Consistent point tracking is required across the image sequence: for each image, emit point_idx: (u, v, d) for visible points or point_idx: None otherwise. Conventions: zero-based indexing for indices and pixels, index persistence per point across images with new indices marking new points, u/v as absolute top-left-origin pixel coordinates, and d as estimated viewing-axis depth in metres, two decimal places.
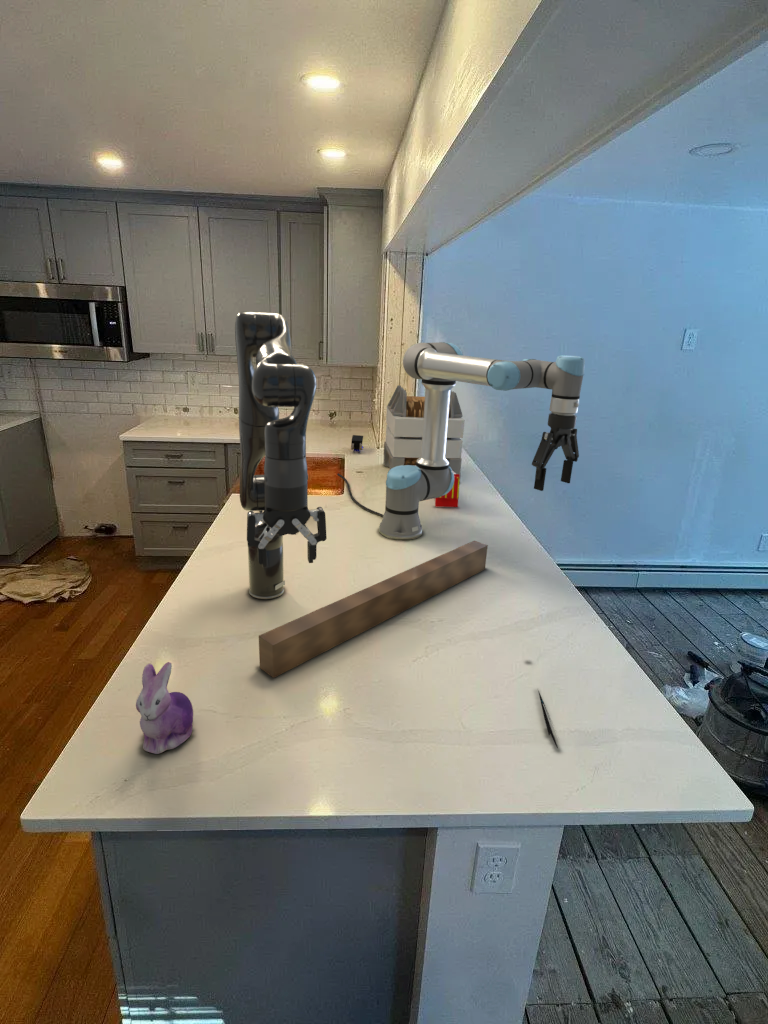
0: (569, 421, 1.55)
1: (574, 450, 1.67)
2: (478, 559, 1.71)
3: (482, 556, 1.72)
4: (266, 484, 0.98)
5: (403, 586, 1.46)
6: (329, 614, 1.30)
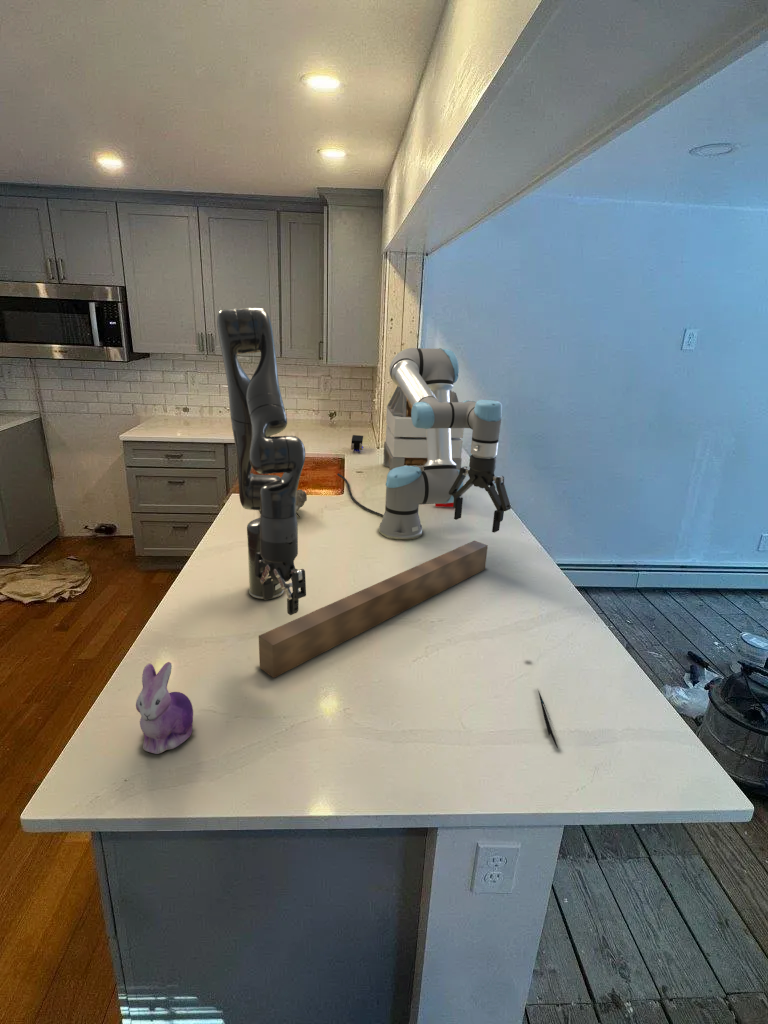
0: (471, 461, 1.61)
1: None
2: (478, 559, 1.71)
3: (482, 556, 1.72)
4: (294, 539, 1.13)
5: (403, 586, 1.46)
6: (329, 614, 1.30)
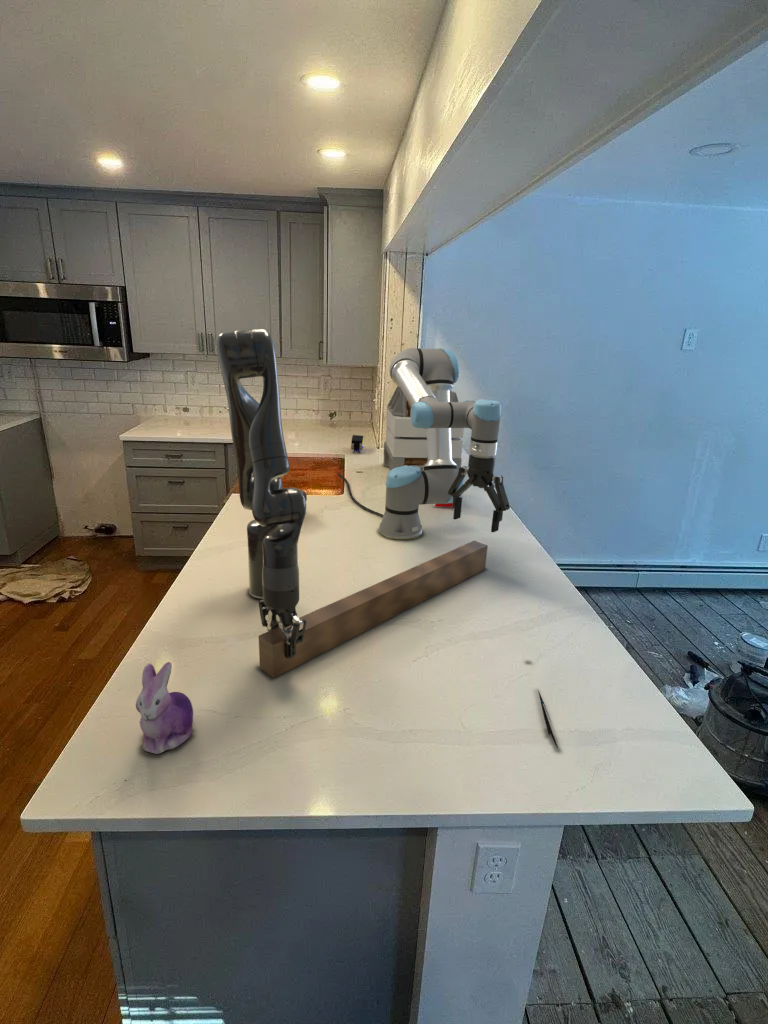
0: (470, 460, 1.61)
1: None
2: (478, 559, 1.71)
3: (482, 556, 1.72)
4: (296, 586, 1.16)
5: (403, 586, 1.46)
6: (329, 614, 1.30)
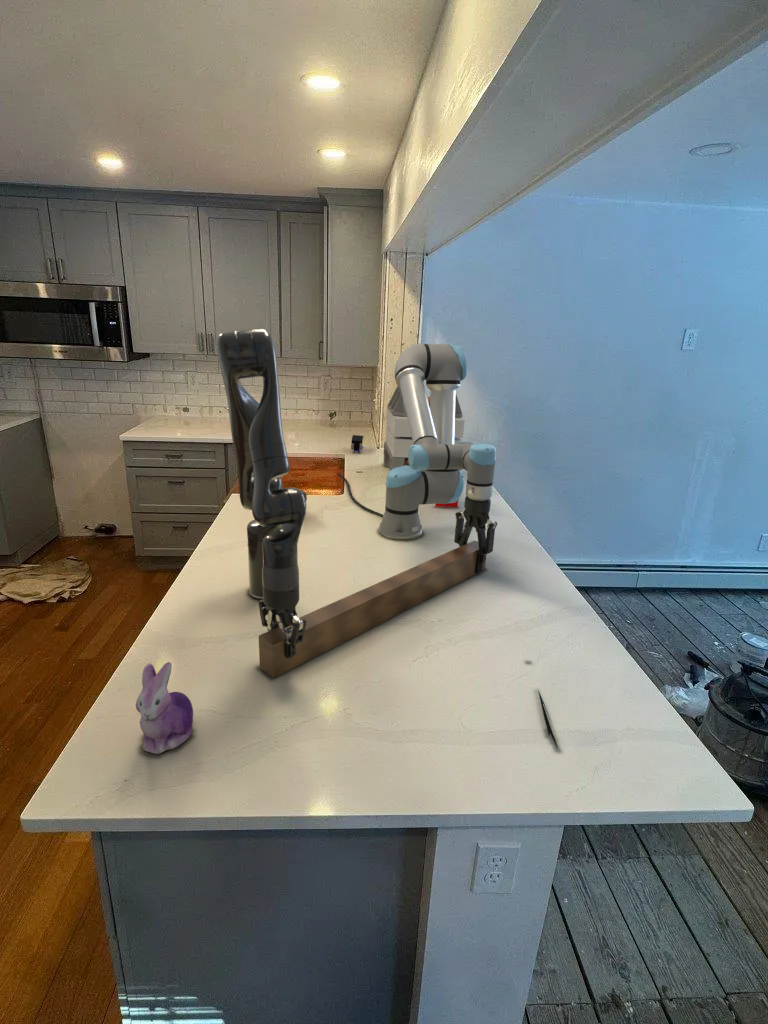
0: (466, 502, 1.65)
1: None
2: None
3: None
4: (296, 586, 1.16)
5: (403, 585, 1.46)
6: (329, 614, 1.30)
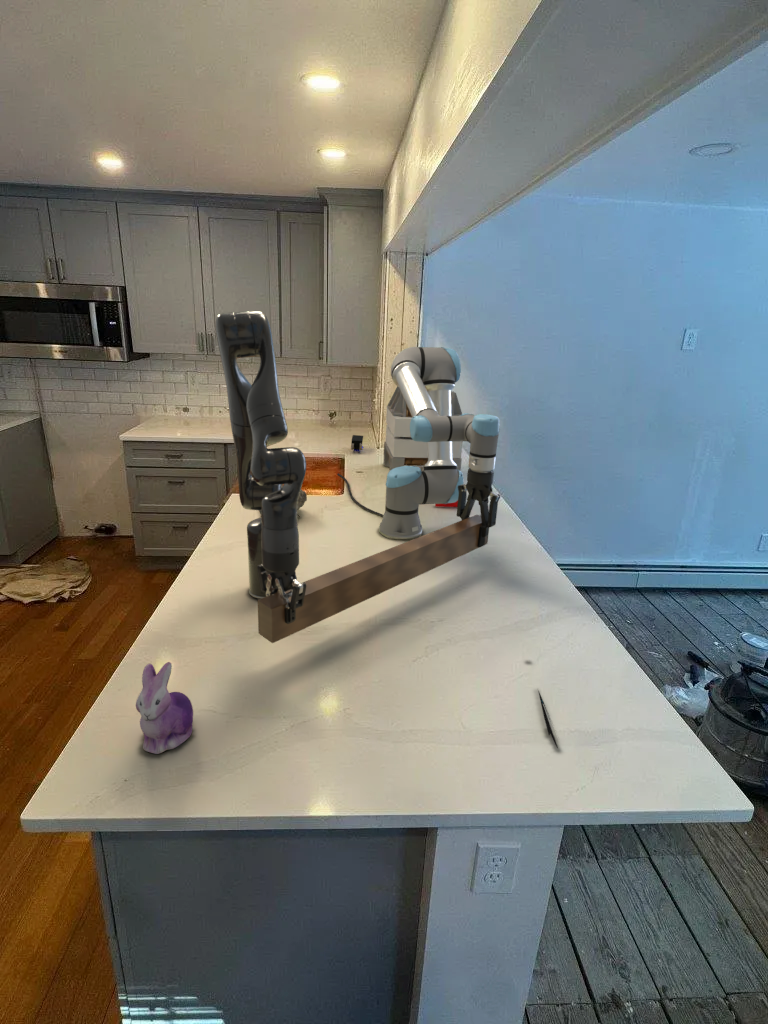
0: (468, 474, 1.63)
1: None
2: None
3: None
4: (295, 549, 1.14)
5: (405, 555, 1.43)
6: (329, 581, 1.27)
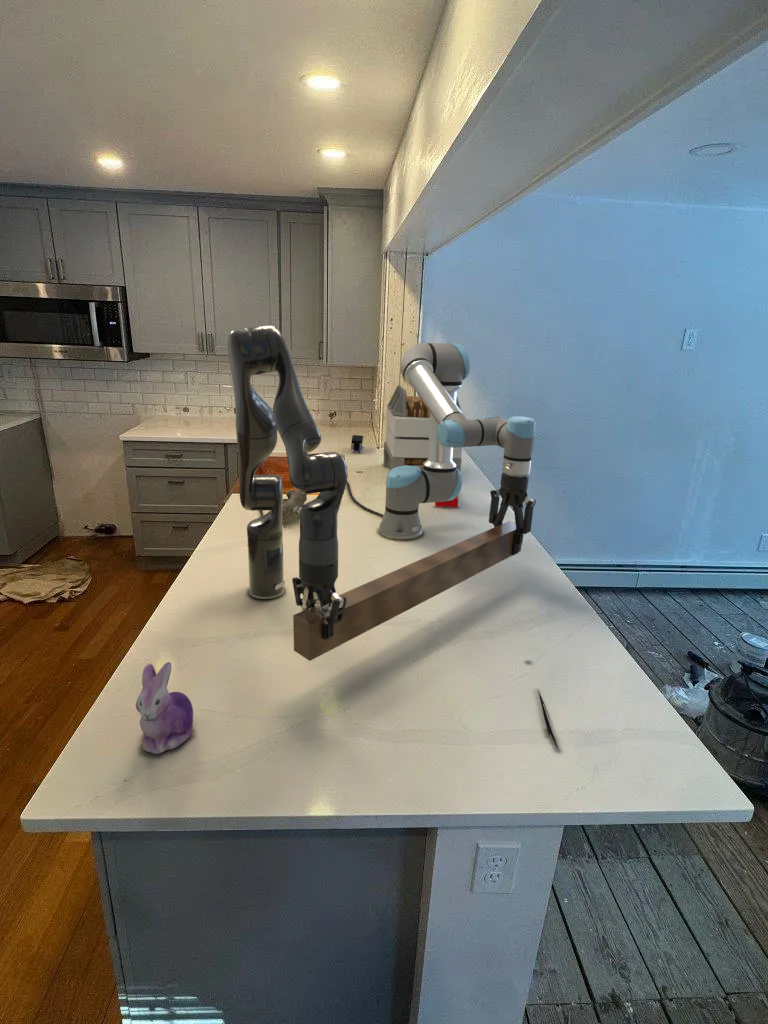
0: (502, 479, 1.56)
1: None
2: None
3: None
4: (335, 561, 1.07)
5: (441, 565, 1.37)
6: (366, 593, 1.21)
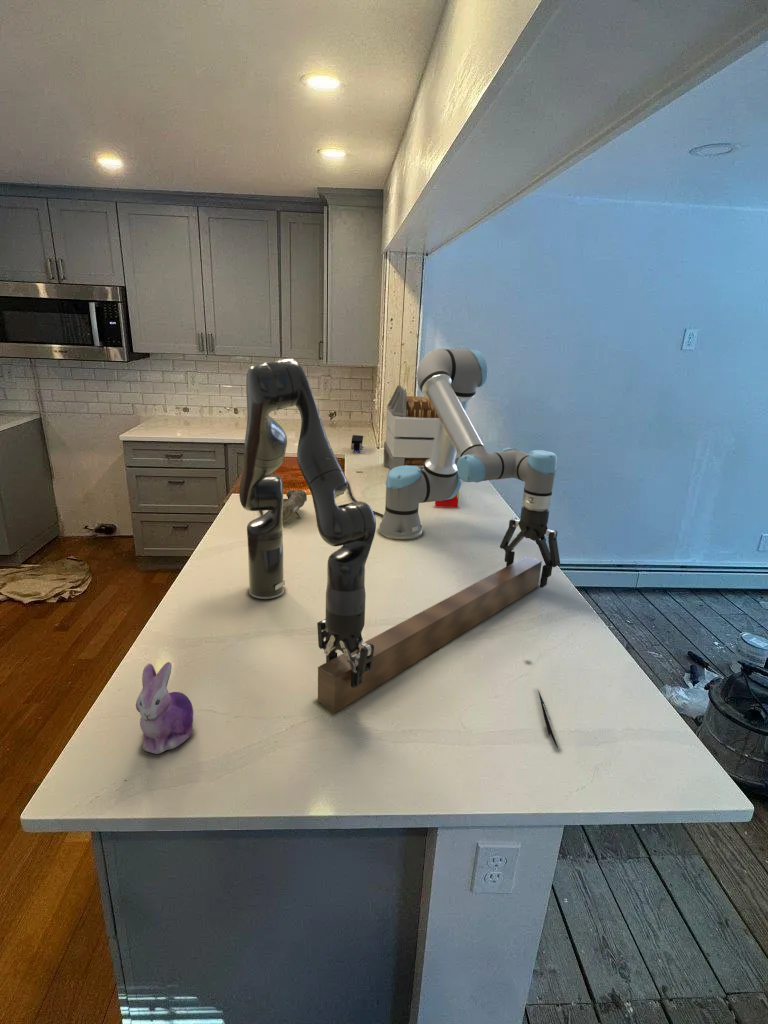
0: (523, 513, 1.55)
1: None
2: (532, 576, 1.61)
3: (536, 573, 1.63)
4: (363, 610, 1.06)
5: (462, 608, 1.36)
6: (389, 641, 1.20)
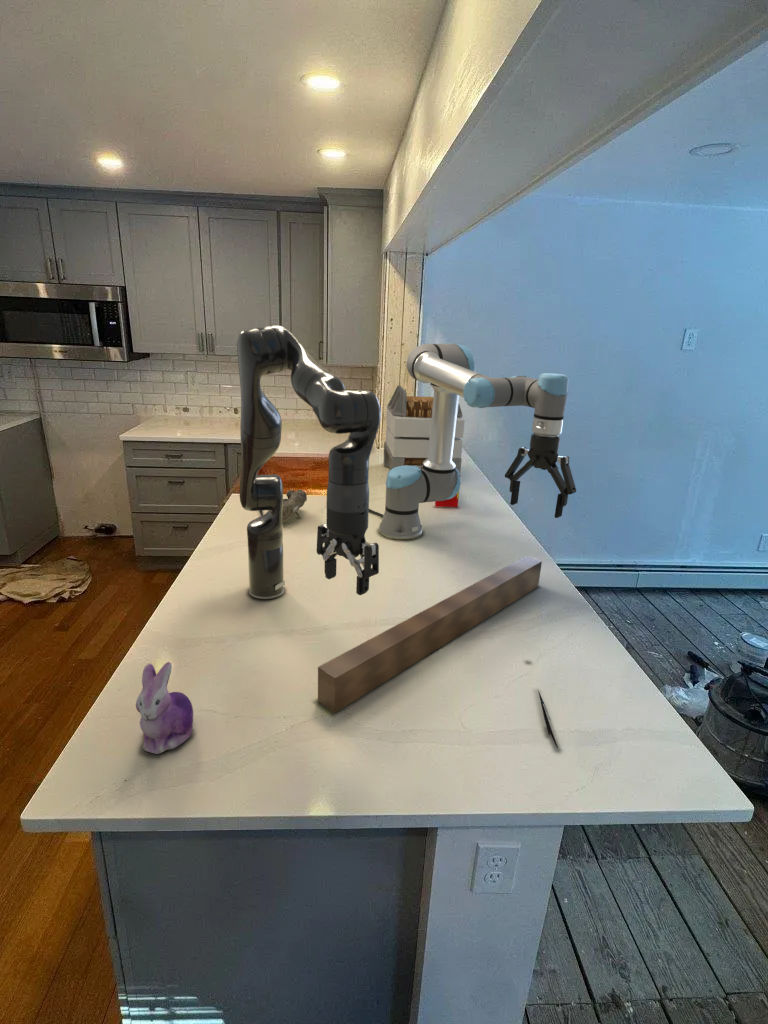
0: (533, 440, 1.48)
1: None
2: (532, 576, 1.61)
3: (536, 573, 1.63)
4: (366, 509, 1.00)
5: (462, 608, 1.36)
6: (389, 641, 1.20)
